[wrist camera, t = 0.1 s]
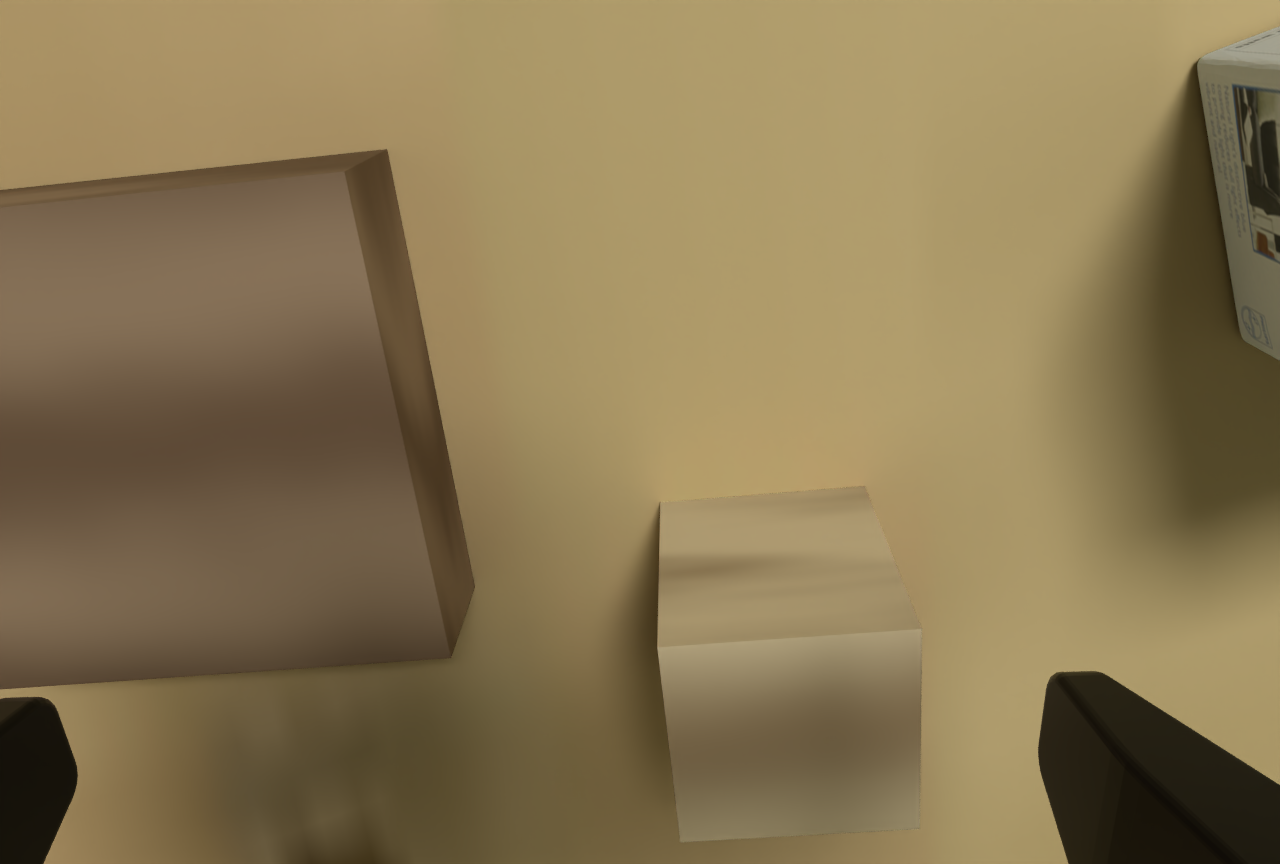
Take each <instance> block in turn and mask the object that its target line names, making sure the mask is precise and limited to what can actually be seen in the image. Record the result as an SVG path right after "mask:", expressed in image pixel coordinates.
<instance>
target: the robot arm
mask: <svg viewBox="0 0 1280 864" xmlns="http://www.w3.org/2000/svg"><path fill="white" fill-rule="evenodd" d="M1038 757H1039V766H1040V771H1041V775H1042V779H1043V782H1044V785H1045V788H1046V792H1047V795H1048V798H1049V801H1050V805H1051V808H1052V811H1053V815H1054V818H1055V821H1056V824H1057V828H1058V831H1059V834H1060V837H1061V841H1062V844H1063V847H1064V850H1065V854H1066V857H1067V860H1068V864H1280V785H1279V784H1277V783H1276V782H1274V781H1273V780H1271V779H1270V778H1268V777H1266V776H1265V775H1263V774H1262V773H1260V772H1259V771H1257V770H1255V769H1254V768H1252V767H1251V766H1249V765H1247V764H1246V763H1244V762H1243V761H1241V760H1240V759H1238V758H1236V757H1235V756H1233V755H1232V754H1230V753H1229V752H1227V751H1225V750H1224V749H1222V748H1221V747H1219V746H1218V745H1216V744H1214V743H1213V742H1211V741H1210V740H1208V739H1207V738H1205V737H1203V736H1202V735H1200V734H1199V733H1197V732H1195V731H1194V730H1192V729H1191V728H1189V727H1188V726H1186V725H1184V724H1183V723H1181V722H1180V721H1178V720H1177V719H1175V718H1173V717H1172V716H1170V715H1169V714H1167V713H1166V712H1164V711H1162V710H1161V709H1159V708H1158V707H1156V706H1154V705H1153V704H1151V703H1150V702H1148V701H1147V700H1145V699H1143V698H1142V697H1140V696H1139V695H1137V694H1136V693H1134V692H1132V691H1131V690H1129V689H1128V688H1126V687H1125V686H1123V685H1121V684H1120V683H1118V682H1117V681H1115V680H1114V679H1112V678H1110V677H1109V676H1107V675H1105V674H1103V673H1101V672H1096V671H1081V672H1057V673H1055V674H1054V675H1053V676H1051V677H1050V679H1049V682H1048V684H1047V688H1046V694H1045V701H1044V709H1043V716H1042V724H1041V731H1040V738H1039V747H1038ZM77 777H78V774H77V766H76V762H75V759H74V756H73V753H72V751H71V748H70V745H69V742H68V739H67V737H66V734H65V731H64V728H63V725H62V723H61V720H60V717H59V714H58V711H57V709H56V707H55V706H54V705H53V704H52V702H51V701H49V700H48V699H45V698H42V697H18V698H3V699H0V864H43V863H44V861H45V859H46V856H47V854H48V852H49V850H50V848H51V845H52V843H53V841H54V839H55V836H56V834H57V832H58V830H59V827H60V825H61V823H62V821H63V818H64V816H65V814H66V812H67V810H68V807H69V805H70V803H71V801H72V798H73V796H74V793H75V789H76V785H77Z"/></svg>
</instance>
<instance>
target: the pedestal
mask: <svg viewBox="0 0 1280 864" xmlns="http://www.w3.org/2000/svg"><path fill="white" fill-rule="evenodd" d="M474 588H475V586H474V581H473V576H472V571H471V566H470V561H469V556H468V551H467V546H466V541H465V536H464V531H463V526H462V521H461V516H460V511H459V506H458V501H457V496H456V491H455V486H454V481H453V476H452V471H451V466H450V461H449V456H448V451H447V446H446V441H445V436H444V431H443V426H442V421H441V416H440V411H439V406H438V401H437V396H436V391H435V386H434V381H433V376H432V371H431V366H430V361H429V356H428V351H427V346H426V342H425V337H424V332H423V327H422V322H421V317H420V312H419V307H418V302H417V297H416V292H415V287H414V282H413V277H412V272H411V267H410V262H409V257H408V252H407V247H406V242H405V237H404V232H403V227H402V222H401V217H400V212H399V207H398V202H397V197H396V192H395V187H394V182H393V177H392V172H391V167H390V162H389V157H388V152H387V149H386V150H376V151H367V152H357V153H348V154H338V155H329V156H319V157H310V158H301V159H291V160H282V161H272V162H263V163H253V164H244V165H234V166H225V167H216V168H206V169H197V170H187V171H178V172H168V173H159V174H149V175H140V176H131V177H121V178H112V179H102V180H93V181H83V182H74V183H65V184H55V185H46V186H36V187H27V188H17V189H8V190H0V689H12V688H26V687H41V686H55V685H70V684H84V683H98V682H113V681H127V680H142V679H156V678H170V677H185V676H199V675H214V674H228V673H242V672H257V671H271V670H286V669H300V668H314V667H329V666H343V665H358V664H372V663H386V662H401V661H415V660H430V659H444V658H451V656H452V653H453V650H454V647H455V644H456V641H457V638H458V635H459V632H460V629H461V626H462V623H463V620H464V617H465V615H466V612H467V609H468V606H469V603H470V600H471V597H472V594H473V591H474Z"/></svg>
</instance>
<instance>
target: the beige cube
mask: <svg viewBox="0 0 1280 864" xmlns="http://www.w3.org/2000/svg"><path fill="white" fill-rule="evenodd" d="M657 649H658V657H659V666H660V674H661V683H662V691H663V700H664V708H665V717H666V725H667V734H668V742H669V751H670V759H671V768H672V776H673V785H674V793H675V802H676V810H677V819H678V827H679V836H680V842H696V841H714V840H732V839H750V838H768V837H785V836H803V835H821V834H839V833H857V832H875V831H893V830H911V829H920V763H921V675H922V628H921V625H920V623H919V620H918V618H917V615H916V613H915V610H914V608H913V605H912V603H911V600H910V598H909V595H908V593H907V590H906V588H905V585H904V583H903V580H902V578H901V575H900V573H899V570H898V568H897V565H896V563H895V560H894V558H893V555H892V553H891V550H890V548H889V545H888V543H887V540H886V538H885V535H884V533H883V530H882V528H881V525H880V523H879V520H878V518H877V515H876V513H875V510H874V508H873V505H872V503H871V500H870V498H869V495H868V493H867V490H866V488H865V486H858V487H846V488H833V489H820V490H808V491H795V492H782V493H770V494H757V495H745V496H732V497H719V498H707V499H694V500H682V501H669V502H660V543H659V591H658V640H657Z"/></svg>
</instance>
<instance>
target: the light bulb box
mask: <svg viewBox="0 0 1280 864" xmlns="http://www.w3.org/2000/svg"><path fill="white" fill-rule="evenodd" d="M1197 71H1198V77H1199V84H1200V91H1201V97H1202V103H1203V110H1204V116H1205V122H1206V128H1207V134H1208V140H1209V146H1210V152H1211V158H1212V164H1213V170H1214V176H1215V182H1216V188H1217V194H1218V201H1219V207H1220V213H1221V219H1222V225H1223V231H1224V237H1225V243H1226V250H1227V256H1228V262H1229V268H1230V275H1231V281H1232V288H1233V294H1234V300H1235V306H1236V312H1237V317H1238V323H1239V329H1240V333H1241V336H1242V339H1243V340H1244V341H1245V342H1247V343H1249V344H1251V345H1252V346H1254V347H1256V348H1258V349H1259V350H1261V351H1263V352H1265V353H1267V354H1269V355H1271V356H1272V357H1274V358H1276V359H1277V360H1279V361H1280V26H1279V27H1276V28H1274V29H1271V30H1269V31H1266V32H1263V33H1261V34H1258V35H1255V36H1253V37H1250V38H1247V39H1245V40H1242V41H1239V42H1237V43H1234V44H1232V45H1229V46H1226V47H1224V48H1221V49H1218V50H1216V51H1213V52H1211V53H1209V54H1206V55H1205V56H1203V57H1202V58H1200V59H1199V61H1198V64H1197Z"/></svg>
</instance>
